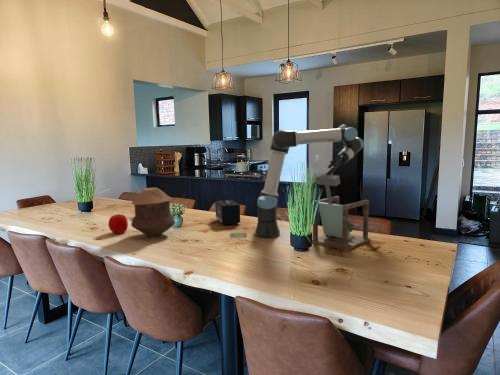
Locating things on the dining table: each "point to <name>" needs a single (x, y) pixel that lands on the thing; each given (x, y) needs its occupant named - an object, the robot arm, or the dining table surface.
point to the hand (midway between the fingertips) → (321, 177)
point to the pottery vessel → (152, 212)
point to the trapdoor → (330, 208)
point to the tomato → (118, 224)
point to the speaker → (227, 212)
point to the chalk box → (348, 230)
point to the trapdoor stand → (344, 228)
